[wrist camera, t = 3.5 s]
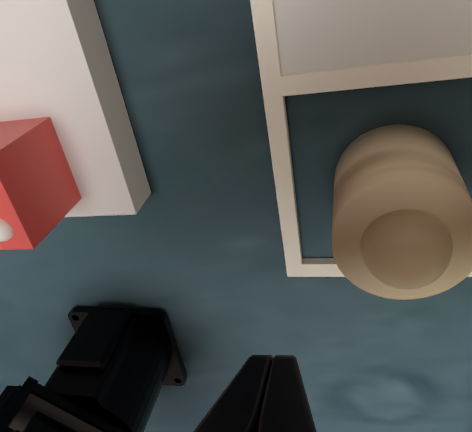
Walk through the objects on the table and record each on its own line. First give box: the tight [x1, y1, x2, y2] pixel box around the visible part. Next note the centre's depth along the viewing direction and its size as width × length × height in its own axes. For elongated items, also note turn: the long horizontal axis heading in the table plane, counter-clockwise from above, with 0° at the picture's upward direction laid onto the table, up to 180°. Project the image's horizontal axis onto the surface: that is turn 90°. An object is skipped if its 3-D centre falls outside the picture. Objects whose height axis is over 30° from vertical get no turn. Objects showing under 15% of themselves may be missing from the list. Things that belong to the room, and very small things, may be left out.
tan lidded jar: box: [332, 124, 472, 300], centre depth 17 cm, size 5×5×6 cm
